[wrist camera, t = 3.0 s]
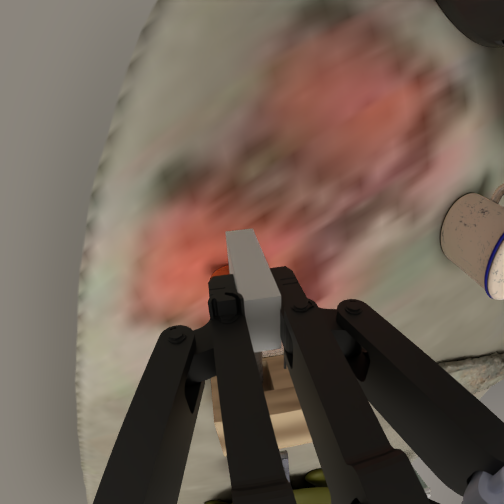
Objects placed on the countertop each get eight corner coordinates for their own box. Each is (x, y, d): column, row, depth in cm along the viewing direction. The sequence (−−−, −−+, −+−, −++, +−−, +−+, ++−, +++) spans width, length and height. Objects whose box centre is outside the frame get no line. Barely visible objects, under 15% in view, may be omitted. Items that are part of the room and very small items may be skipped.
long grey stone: (418, 348, 42) (387, 389, 47) (432, 373, 37) (398, 414, 42) (520, 345, 48) (496, 377, 53) (532, 360, 44) (506, 392, 48)
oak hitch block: (209, 364, 34) (214, 422, 27) (315, 349, 36) (337, 401, 28) (218, 404, 38) (224, 456, 31) (310, 390, 39) (327, 438, 32)
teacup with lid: (467, 267, 34) (525, 318, 24) (425, 251, 32) (491, 311, 22) (504, 184, 30) (573, 221, 19) (467, 154, 27) (549, 189, 17)
